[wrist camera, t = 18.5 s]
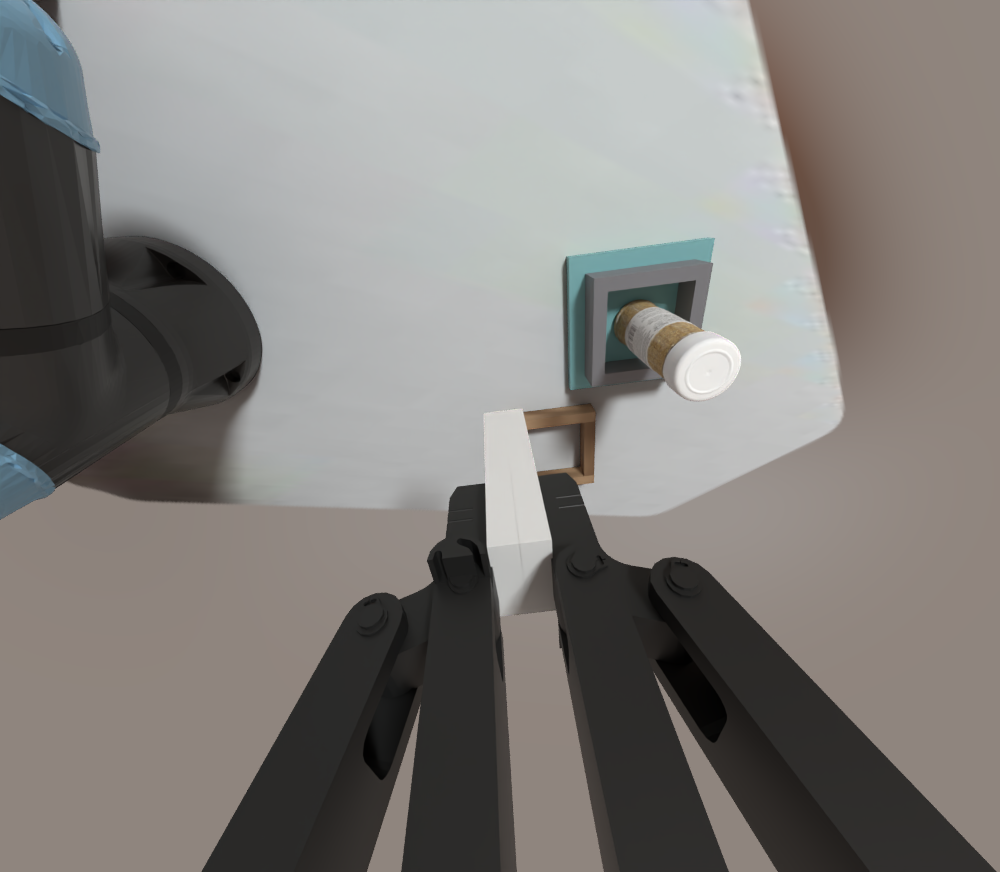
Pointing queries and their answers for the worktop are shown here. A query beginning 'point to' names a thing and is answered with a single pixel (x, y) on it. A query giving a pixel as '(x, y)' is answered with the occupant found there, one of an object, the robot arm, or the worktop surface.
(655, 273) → the plate
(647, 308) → the sprinkles bottle
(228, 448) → the worktop surface
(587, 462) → the stand collar
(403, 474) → the worktop surface
